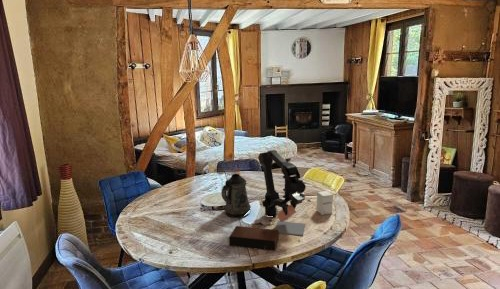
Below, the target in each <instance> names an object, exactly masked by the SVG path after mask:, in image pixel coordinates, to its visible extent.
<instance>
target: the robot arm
mask: <svg viewBox="0 0 500 289" xmlns="http://www.w3.org/2000/svg"><path fill="white" fill-rule="evenodd" d="M257 159H258V161H259V162H258V163H259V165H260V166H261V167H262V169H263V176H264V183H265V188H266V192H265V194H264V200H263V201H262V202H261V204H262V207H264V215H265V214H267V215H268V216H273V217H274V218H276V216H277V214H278V211H277V210H278V208H277V207H279V208H281V210H282V209H283V211H284V213H285V215H287V209H288V206H289V205H291V204H292V206H293V207H294V209H295V210H296V207H297V205H299V204H302V203H303V201H305V198H306V195H305V193H304V192H305V191H306V187H307V186H306V184H305V182H304V181H303V180H302V178H301V174H300V172H299V169H298V167H297V165H296V164H294V163H292V162H289V161H287V160H286V159H285V158H284V157H283V156H281V154H279V153H278V151H277V150H276V149H273V150H268V151H267V152H260V153H259V154H258V157H257ZM273 162H274V163H275V164H276V165H277V166H278V167H279V168H280V171H281V174H283V176H282V178H283V179H284V188H283V189H282V190H283V191H284V195H282V198H280V194H279V192H277V191H276V189H275V183H274V178H273V177H274V175H273V170H272V166H273ZM288 203H290V204H288ZM273 217H272V218H273Z"/></svg>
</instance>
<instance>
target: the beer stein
mask: <svg viewBox="0 0 500 289" xmlns="http://www.w3.org/2000/svg"><path fill="white" fill-rule="evenodd" d="M246 186H247V180H246V179H245V178H243V177H242V176H241V175H240V174H239V173H233V174H232V175H231V177H230V178H228V179H227V180H226V181H225V184H224V185H223V186H222V189H221V193H220V194H221V197H222V200H223V201H224V202H225V205H224V212H225V215H226V216H227V217H230V218H232V219H234V218H235V219H240V218H241V219H242V218H244V217H243V216H244V215H245V214H246V213H247V212H248V211H249V210H250V211H251V209H252V207H251V204H250V202H249V198H248V192H247V187H246ZM250 208H251V209H250Z"/></svg>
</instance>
